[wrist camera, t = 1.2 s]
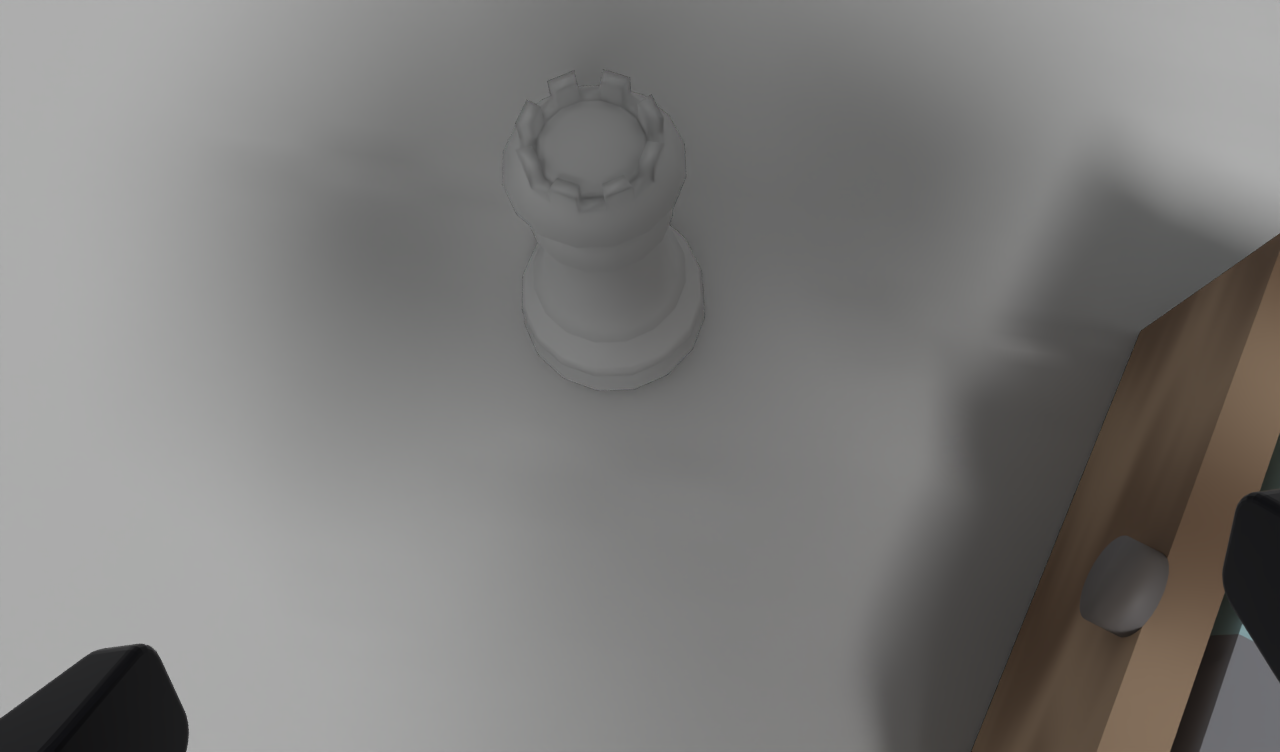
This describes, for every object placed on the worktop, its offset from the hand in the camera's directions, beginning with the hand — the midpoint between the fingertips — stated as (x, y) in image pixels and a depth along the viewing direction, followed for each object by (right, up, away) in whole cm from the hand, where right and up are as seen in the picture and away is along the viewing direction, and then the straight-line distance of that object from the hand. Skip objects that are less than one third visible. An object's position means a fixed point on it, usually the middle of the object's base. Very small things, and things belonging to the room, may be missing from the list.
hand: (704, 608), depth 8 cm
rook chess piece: (-1, +4, +15) cm, 16 cm away
